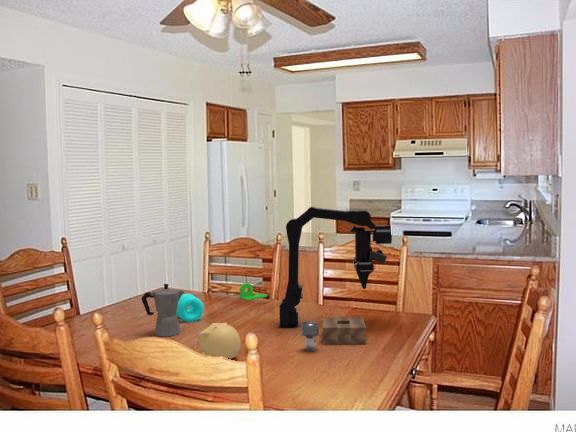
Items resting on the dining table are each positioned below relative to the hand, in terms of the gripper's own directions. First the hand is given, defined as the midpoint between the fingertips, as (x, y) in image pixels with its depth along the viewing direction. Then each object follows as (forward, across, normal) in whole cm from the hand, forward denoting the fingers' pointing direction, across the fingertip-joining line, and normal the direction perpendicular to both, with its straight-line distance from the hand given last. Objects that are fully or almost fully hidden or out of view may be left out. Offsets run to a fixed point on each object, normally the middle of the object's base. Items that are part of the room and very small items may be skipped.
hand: (363, 286), depth 202 cm
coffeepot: (+15, -10, +72) cm, 74 cm away
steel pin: (+15, -29, +19) cm, 38 cm away
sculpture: (+15, -37, +46) cm, 61 cm away
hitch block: (+15, -16, +8) cm, 24 cm away
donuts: (+15, +10, +68) cm, 70 cm away
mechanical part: (+15, +47, +46) cm, 68 cm away
